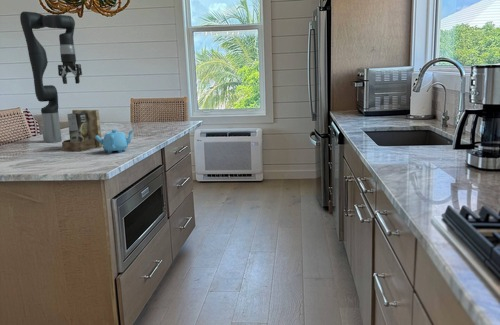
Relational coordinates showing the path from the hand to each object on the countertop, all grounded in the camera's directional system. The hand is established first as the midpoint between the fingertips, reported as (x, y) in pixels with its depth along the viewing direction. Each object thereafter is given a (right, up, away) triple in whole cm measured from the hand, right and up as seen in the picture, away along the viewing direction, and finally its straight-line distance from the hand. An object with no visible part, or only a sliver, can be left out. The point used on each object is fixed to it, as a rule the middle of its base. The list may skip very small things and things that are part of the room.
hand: (71, 83), depth 241 cm
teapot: (+31, -38, -19) cm, 52 cm away
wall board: (+10, -35, -2) cm, 36 cm away
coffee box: (+8, -33, -8) cm, 35 cm away
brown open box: (+8, -36, -8) cm, 38 cm away
